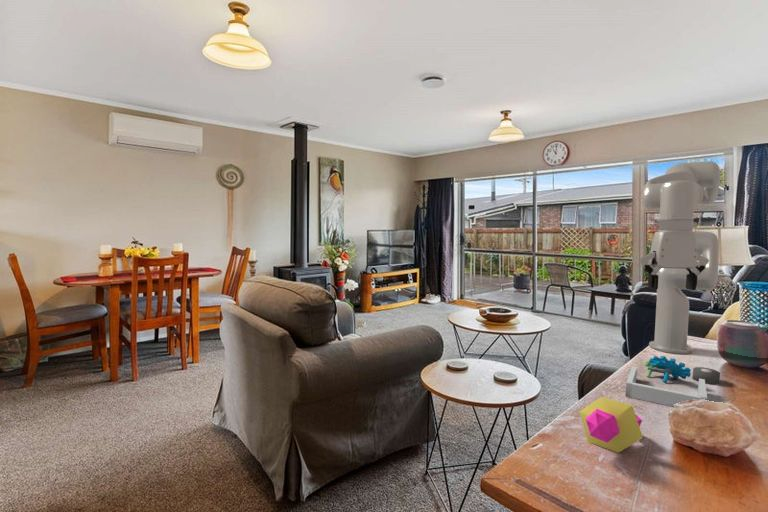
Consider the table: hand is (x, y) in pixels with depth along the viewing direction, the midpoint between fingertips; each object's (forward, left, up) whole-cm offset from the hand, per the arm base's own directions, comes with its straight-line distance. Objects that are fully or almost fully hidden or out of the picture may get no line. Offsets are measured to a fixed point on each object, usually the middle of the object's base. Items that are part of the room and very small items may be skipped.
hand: (671, 289), depth 111 cm
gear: (-3, 0, -27) cm, 27 cm away
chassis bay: (+9, 0, -27) cm, 28 cm away
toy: (+46, -8, -27) cm, 53 cm away
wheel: (-9, +9, -27) cm, 30 cm away
